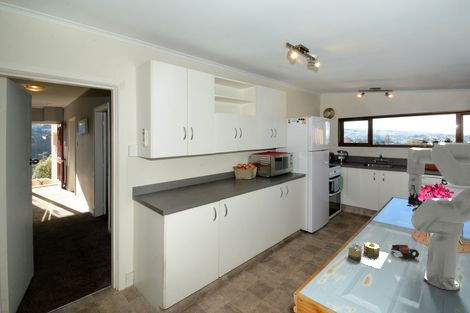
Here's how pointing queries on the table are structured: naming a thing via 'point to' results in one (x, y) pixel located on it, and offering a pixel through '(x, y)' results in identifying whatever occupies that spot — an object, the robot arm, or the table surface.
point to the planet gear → (371, 249)
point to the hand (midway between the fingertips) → (412, 202)
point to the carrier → (366, 256)
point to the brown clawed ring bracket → (405, 251)
